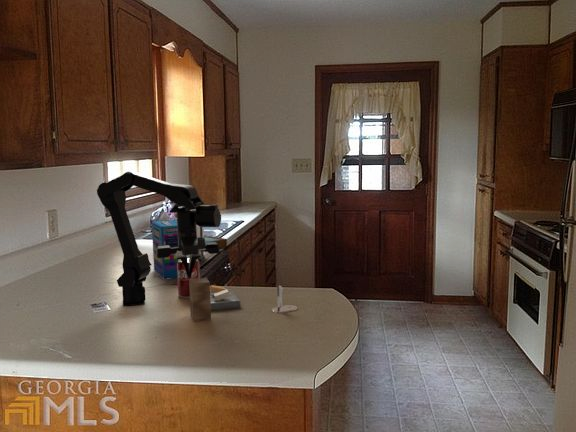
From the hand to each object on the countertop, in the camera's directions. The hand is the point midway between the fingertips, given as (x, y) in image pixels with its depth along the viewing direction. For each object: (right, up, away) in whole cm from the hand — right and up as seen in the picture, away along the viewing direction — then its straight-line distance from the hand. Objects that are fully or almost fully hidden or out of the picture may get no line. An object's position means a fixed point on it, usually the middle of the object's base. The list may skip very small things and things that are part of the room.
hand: (189, 277), depth 164 cm
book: (-14, +2, +102) cm, 103 cm away
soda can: (-3, -8, +14) cm, 16 cm away
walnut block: (+5, -11, -10) cm, 16 cm away
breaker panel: (+9, -9, +4) cm, 13 cm away
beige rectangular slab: (+10, -6, 0) cm, 11 cm away
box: (-16, -4, +46) cm, 49 cm away
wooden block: (+8, -5, +7) cm, 11 cm away
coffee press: (-13, -1, +73) cm, 75 cm away
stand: (+29, -10, -4) cm, 31 cm away
